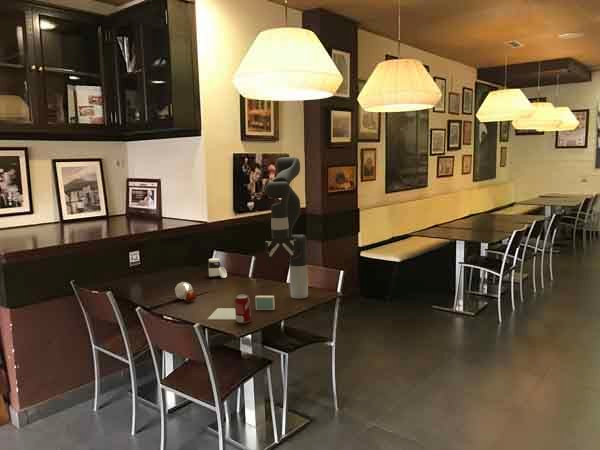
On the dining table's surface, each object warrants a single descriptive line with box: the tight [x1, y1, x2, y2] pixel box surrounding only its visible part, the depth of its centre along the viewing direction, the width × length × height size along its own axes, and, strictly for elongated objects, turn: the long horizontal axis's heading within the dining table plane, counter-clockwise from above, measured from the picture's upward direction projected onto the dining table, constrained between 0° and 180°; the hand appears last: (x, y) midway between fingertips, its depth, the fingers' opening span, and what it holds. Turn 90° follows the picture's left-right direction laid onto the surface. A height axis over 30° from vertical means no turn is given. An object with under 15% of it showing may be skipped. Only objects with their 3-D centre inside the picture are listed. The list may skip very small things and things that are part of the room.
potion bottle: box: [174, 281, 197, 304], centre depth 261 cm, size 9×10×15 cm
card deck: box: [254, 295, 276, 311], centre depth 241 cm, size 2×9×6 cm, turn 82°
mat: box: [207, 307, 236, 321], centre depth 234 cm, size 16×14×1 cm
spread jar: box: [208, 257, 228, 279], centre depth 310 cm, size 12×11×12 cm
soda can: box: [234, 294, 252, 324], centre depth 222 cm, size 7×7×12 cm
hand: (281, 263), depth 216 cm, fingers open, 8 cm apart
